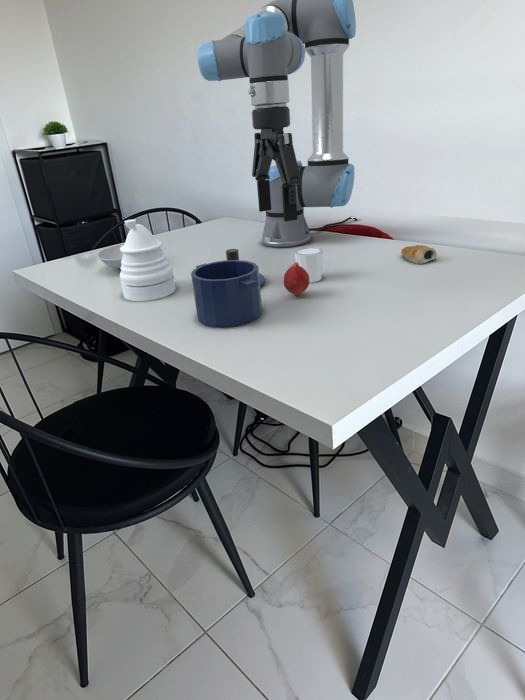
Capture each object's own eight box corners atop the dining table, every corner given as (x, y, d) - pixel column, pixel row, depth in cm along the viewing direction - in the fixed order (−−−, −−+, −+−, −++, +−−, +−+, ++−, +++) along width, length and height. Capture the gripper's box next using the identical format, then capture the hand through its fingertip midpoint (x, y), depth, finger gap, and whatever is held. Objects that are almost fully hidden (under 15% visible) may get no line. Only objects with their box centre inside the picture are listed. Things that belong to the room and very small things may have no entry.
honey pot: (150, 304, 119) (136, 226, 111) (112, 297, 125) (96, 223, 118) (186, 286, 128) (175, 214, 121) (148, 280, 135) (136, 212, 127)
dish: (149, 273, 141) (145, 255, 139) (95, 280, 140) (91, 262, 137) (150, 256, 157) (148, 240, 155) (103, 262, 155) (99, 246, 153)
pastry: (394, 257, 136) (395, 243, 134) (413, 252, 139) (414, 238, 137) (419, 265, 129) (420, 250, 127) (439, 260, 131) (440, 245, 130)
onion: (280, 299, 115) (277, 264, 112) (291, 290, 120) (289, 257, 116) (303, 301, 112) (302, 266, 109) (314, 292, 117) (312, 258, 113)
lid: (242, 271, 136) (239, 239, 132) (277, 283, 125) (274, 248, 121) (195, 286, 128) (190, 252, 124) (228, 299, 117) (223, 263, 114)
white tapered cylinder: (305, 285, 122) (304, 256, 119) (291, 278, 128) (289, 250, 124) (329, 279, 125) (328, 251, 121) (314, 272, 130) (313, 245, 127)
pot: (230, 296, 119) (226, 254, 115) (282, 317, 106) (279, 270, 101) (180, 312, 112) (173, 269, 108) (228, 337, 98) (222, 288, 94)
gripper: (231, 109, 110) (241, 209, 120) (278, 106, 89) (285, 227, 98) (263, 106, 113) (270, 204, 122) (316, 102, 92) (320, 222, 101)
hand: (277, 215), depth 110 cm, fingers open, 13 cm apart
